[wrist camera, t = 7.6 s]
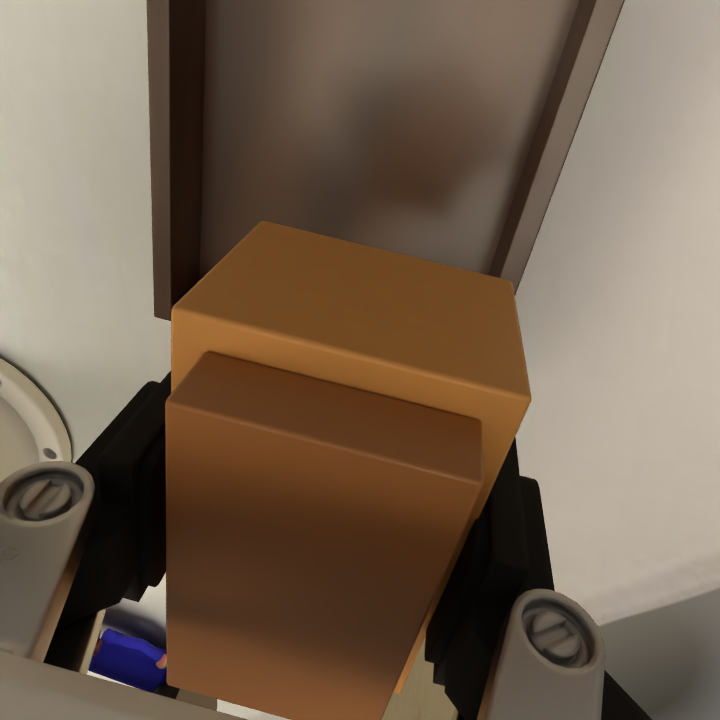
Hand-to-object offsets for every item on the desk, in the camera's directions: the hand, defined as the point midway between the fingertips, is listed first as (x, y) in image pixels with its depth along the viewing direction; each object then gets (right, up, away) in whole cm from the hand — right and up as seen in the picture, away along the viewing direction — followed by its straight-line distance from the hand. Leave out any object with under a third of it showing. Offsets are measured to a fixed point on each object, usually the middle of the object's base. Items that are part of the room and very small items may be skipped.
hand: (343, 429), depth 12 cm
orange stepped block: (0, 0, +1) cm, 1 cm away
